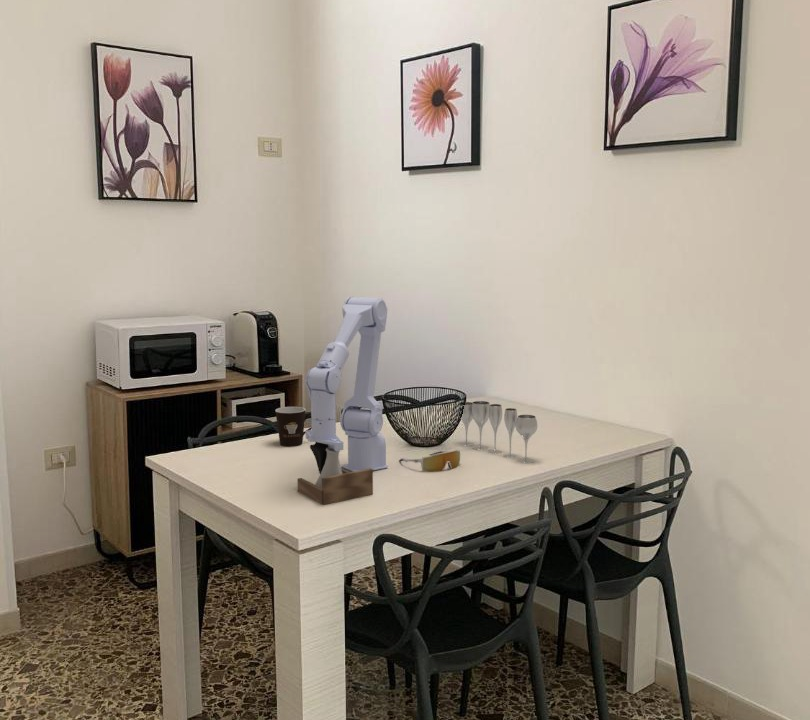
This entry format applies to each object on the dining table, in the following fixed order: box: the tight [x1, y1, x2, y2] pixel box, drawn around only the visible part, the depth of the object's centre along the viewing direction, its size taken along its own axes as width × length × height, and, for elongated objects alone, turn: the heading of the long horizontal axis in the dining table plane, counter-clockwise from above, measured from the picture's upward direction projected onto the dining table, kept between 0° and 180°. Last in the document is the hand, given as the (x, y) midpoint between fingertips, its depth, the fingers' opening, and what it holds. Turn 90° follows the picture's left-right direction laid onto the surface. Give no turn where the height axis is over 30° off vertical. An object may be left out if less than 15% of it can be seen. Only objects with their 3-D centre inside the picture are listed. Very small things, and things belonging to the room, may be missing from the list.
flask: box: [314, 447, 342, 488], centre depth 194 cm, size 7×7×10 cm
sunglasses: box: [398, 449, 461, 473], centre depth 218 cm, size 14×15×5 cm
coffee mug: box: [275, 406, 312, 448], centre depth 238 cm, size 12×9×10 cm
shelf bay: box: [296, 468, 374, 506], centre depth 194 cm, size 13×12×6 cm
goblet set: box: [458, 400, 538, 464], centre depth 228 cm, size 28×6×13 cm, turn 40°
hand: (324, 473), depth 197 cm, fingers closed
